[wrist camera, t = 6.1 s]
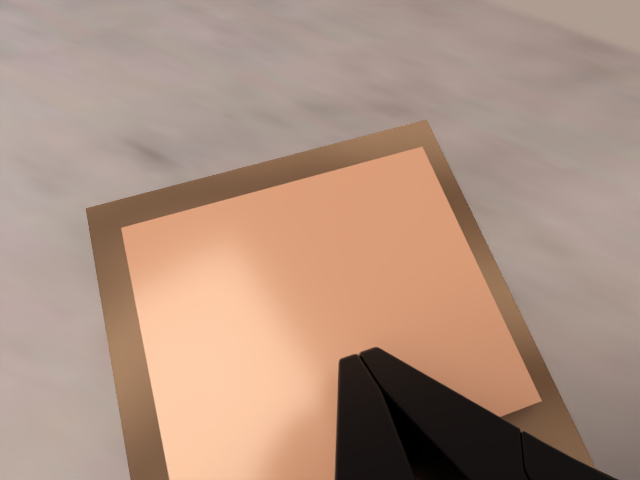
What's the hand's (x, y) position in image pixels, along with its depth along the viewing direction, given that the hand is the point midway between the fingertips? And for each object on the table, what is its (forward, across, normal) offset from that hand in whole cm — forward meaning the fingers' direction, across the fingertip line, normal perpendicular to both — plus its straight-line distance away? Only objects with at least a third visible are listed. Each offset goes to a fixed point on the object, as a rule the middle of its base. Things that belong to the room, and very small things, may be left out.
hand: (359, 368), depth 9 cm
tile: (+1, 0, +4) cm, 5 cm away
